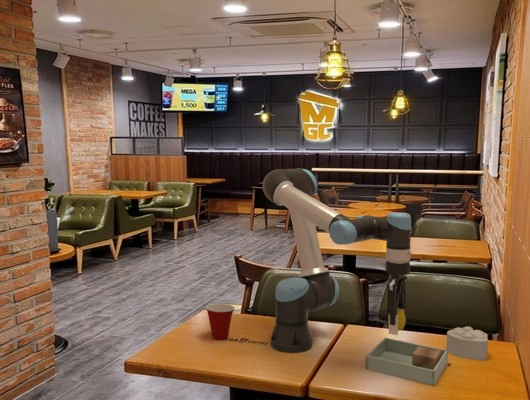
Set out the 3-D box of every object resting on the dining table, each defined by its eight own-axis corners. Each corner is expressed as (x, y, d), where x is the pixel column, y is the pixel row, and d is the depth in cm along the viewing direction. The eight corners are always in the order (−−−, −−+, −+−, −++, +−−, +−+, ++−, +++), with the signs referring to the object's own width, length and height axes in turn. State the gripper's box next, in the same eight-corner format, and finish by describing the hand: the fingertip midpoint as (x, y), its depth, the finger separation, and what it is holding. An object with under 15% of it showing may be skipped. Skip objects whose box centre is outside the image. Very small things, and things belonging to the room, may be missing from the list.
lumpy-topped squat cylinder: (487, 363, 164) (488, 338, 163) (445, 357, 169) (446, 332, 168) (486, 351, 174) (487, 327, 173) (446, 346, 178) (447, 322, 178)
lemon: (406, 335, 158) (406, 311, 157) (388, 334, 159) (388, 310, 158) (404, 329, 163) (405, 305, 162) (387, 328, 164) (387, 304, 164)
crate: (365, 370, 158) (366, 355, 158) (384, 351, 173) (384, 337, 173) (433, 387, 147) (434, 371, 146) (447, 365, 162) (447, 350, 162)
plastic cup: (240, 335, 188) (240, 304, 187) (223, 344, 179) (223, 312, 178) (218, 329, 194) (217, 300, 192) (200, 338, 185) (199, 307, 183)
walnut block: (411, 372, 156) (412, 353, 155) (417, 363, 162) (418, 346, 161) (434, 377, 152) (435, 358, 152) (439, 369, 158) (440, 350, 157)
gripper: (400, 268, 149) (399, 342, 151) (417, 257, 165) (415, 324, 167) (376, 265, 153) (375, 337, 155) (395, 254, 169) (393, 320, 171)
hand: (396, 330), depth 161 cm, fingers closed on lemon, 5 cm apart
